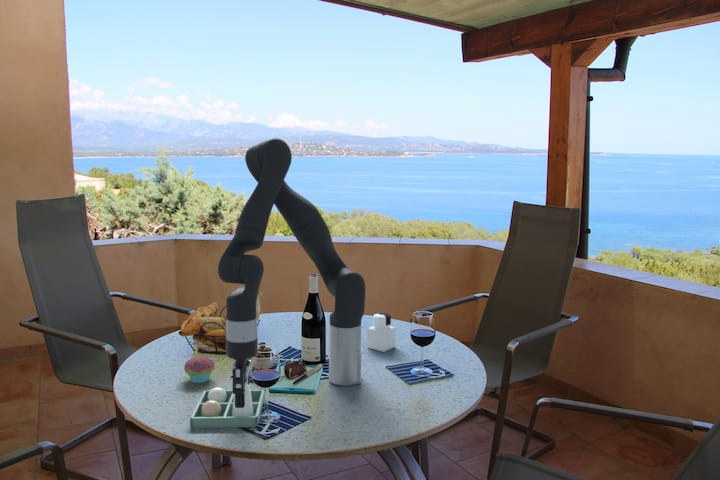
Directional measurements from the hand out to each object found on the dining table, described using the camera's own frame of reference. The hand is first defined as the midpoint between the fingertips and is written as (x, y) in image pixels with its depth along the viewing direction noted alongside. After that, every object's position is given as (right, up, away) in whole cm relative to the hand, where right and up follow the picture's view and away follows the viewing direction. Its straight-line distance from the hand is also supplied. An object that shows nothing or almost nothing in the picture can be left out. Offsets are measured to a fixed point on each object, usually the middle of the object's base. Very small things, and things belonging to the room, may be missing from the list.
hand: (242, 399), depth 134 cm
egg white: (-8, -4, +8) cm, 12 cm away
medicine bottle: (+36, +2, +56) cm, 67 cm away
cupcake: (-18, -2, +24) cm, 30 cm away
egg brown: (-8, -5, 0) cm, 9 cm away
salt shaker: (0, -5, +1) cm, 5 cm away
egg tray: (-4, -5, +4) cm, 8 cm away
